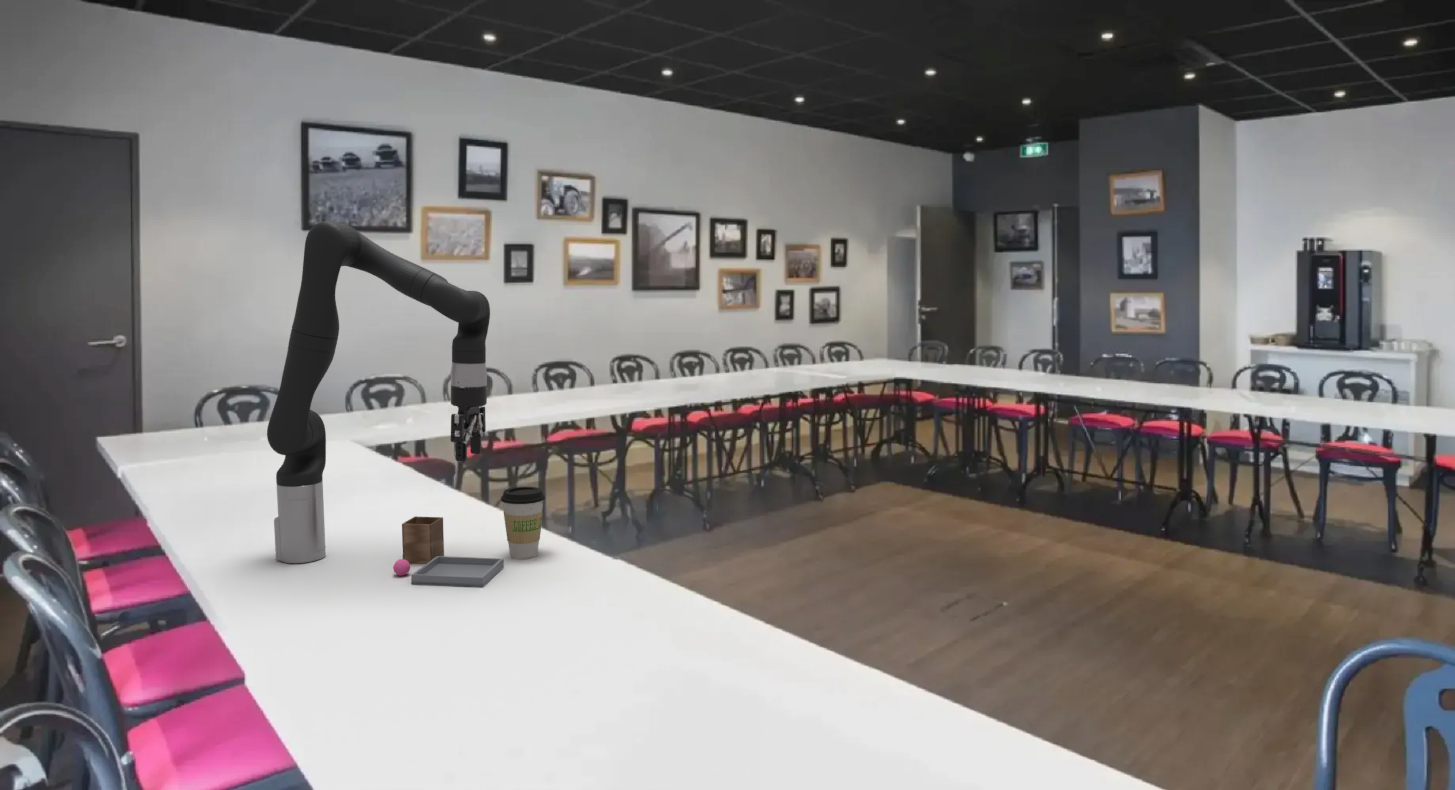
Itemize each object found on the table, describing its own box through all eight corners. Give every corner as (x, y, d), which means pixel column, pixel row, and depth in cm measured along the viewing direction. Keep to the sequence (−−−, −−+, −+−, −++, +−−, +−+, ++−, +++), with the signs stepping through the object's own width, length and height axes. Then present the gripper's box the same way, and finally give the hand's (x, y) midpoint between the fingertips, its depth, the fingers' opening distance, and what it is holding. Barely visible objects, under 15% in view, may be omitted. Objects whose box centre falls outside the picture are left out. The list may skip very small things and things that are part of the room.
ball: (390, 577, 185) (390, 561, 184) (397, 572, 188) (397, 556, 188) (406, 577, 185) (405, 562, 184) (413, 572, 188) (412, 557, 187)
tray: (411, 584, 181) (411, 574, 180) (437, 565, 193) (436, 556, 193) (482, 587, 179) (482, 577, 179) (503, 567, 192) (503, 558, 192)
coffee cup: (535, 562, 196) (534, 496, 194) (494, 559, 198) (492, 494, 196) (552, 550, 205) (551, 487, 204) (513, 547, 207) (512, 484, 206)
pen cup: (403, 563, 194) (401, 523, 193) (415, 554, 201) (414, 516, 200) (432, 564, 194) (431, 524, 193) (444, 556, 200) (443, 517, 199)
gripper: (464, 379, 198) (464, 450, 200) (438, 386, 184) (438, 462, 186) (496, 381, 197) (496, 452, 199) (473, 387, 183) (473, 464, 185)
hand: (468, 457), depth 192 cm, fingers open, 8 cm apart
